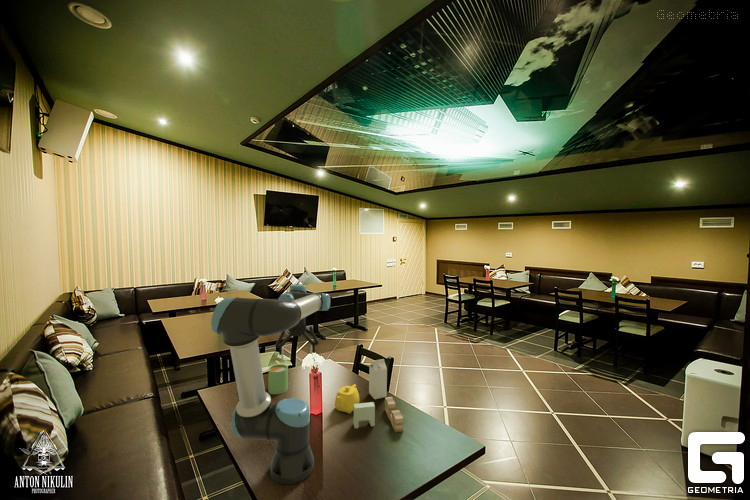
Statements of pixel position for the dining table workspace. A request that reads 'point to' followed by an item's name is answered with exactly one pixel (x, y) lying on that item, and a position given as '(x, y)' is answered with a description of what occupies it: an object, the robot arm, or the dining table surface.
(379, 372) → the milk carton
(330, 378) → the dining table surface
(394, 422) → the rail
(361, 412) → the block
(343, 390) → the teapot
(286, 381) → the mug
